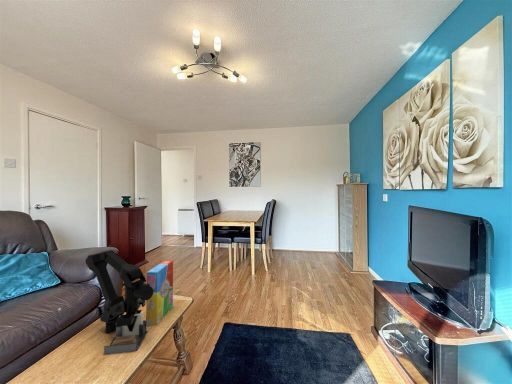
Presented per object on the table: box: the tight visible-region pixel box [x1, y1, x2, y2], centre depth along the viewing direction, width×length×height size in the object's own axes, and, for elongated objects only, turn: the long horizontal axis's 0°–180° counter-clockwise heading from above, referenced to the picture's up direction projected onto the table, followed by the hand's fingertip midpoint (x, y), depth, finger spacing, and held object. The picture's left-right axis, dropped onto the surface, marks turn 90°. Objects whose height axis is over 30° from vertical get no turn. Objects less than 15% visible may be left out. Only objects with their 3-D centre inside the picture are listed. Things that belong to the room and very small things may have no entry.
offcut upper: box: [113, 335, 135, 345], centre depth 95 cm, size 3×7×2 cm, turn 104°
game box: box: [145, 259, 174, 327], centre depth 121 cm, size 21×6×27 cm, turn 179°
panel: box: [122, 312, 144, 336], centre depth 103 cm, size 1×9×9 cm, turn 99°
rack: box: [102, 319, 149, 356], centre depth 98 cm, size 14×13×6 cm
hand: (131, 330), depth 103 cm, fingers closed on panel, 1 cm apart
